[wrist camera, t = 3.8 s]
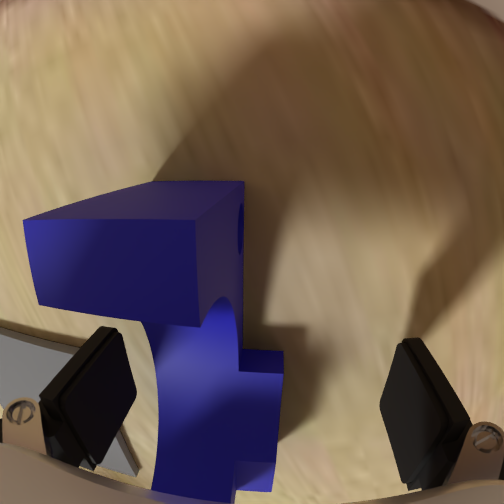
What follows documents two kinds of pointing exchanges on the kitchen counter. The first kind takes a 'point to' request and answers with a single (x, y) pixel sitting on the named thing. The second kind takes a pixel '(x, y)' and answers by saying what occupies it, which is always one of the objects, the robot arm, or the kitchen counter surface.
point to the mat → (46, 382)
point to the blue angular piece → (174, 321)
